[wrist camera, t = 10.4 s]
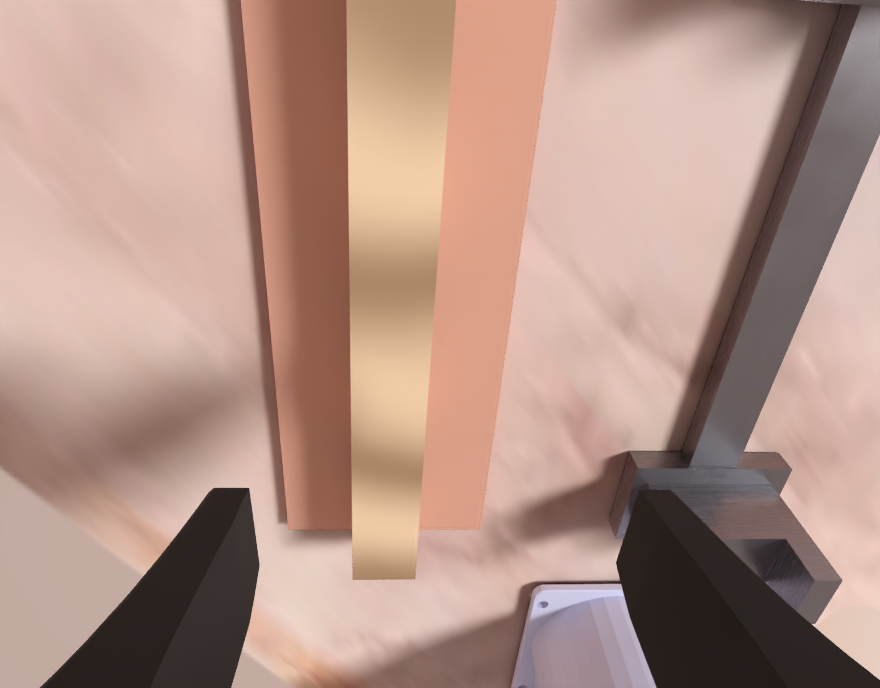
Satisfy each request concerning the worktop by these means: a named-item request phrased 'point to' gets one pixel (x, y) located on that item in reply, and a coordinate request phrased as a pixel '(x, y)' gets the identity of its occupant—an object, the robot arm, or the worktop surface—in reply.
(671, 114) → the worktop surface
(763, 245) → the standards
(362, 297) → the rail
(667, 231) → the worktop surface
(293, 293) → the mat
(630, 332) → the worktop surface
